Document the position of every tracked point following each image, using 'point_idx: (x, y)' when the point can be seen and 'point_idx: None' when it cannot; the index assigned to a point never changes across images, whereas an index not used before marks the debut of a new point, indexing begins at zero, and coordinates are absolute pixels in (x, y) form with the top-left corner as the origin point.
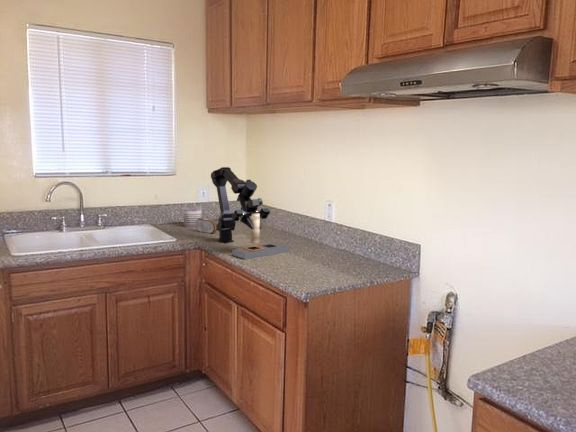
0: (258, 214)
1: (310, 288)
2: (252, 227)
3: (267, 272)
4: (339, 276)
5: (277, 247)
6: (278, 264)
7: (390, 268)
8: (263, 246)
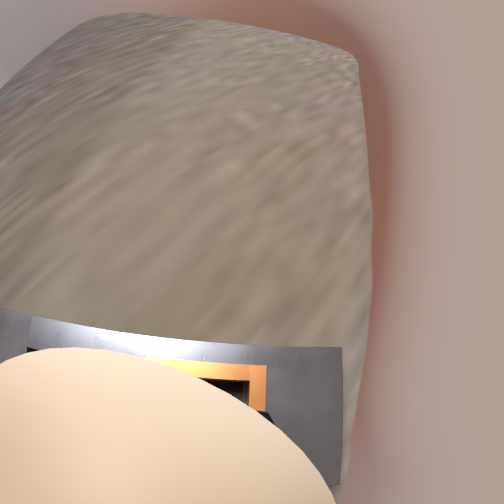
0: (85, 360)
1: (328, 51)
2: (270, 419)
3: (352, 146)
4: (209, 40)
5: (51, 321)
6: (246, 176)
7: (76, 34)
8: None
